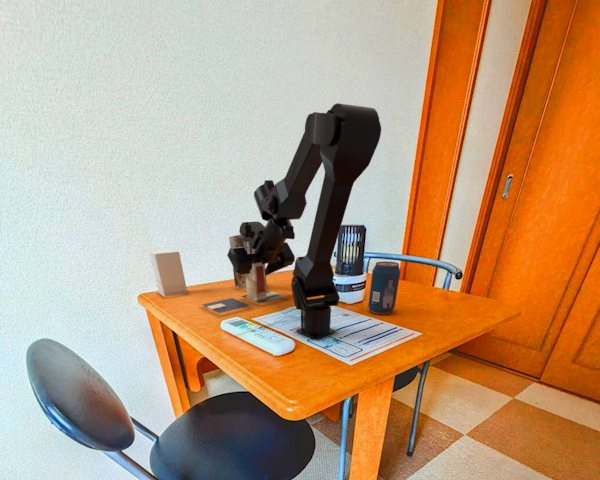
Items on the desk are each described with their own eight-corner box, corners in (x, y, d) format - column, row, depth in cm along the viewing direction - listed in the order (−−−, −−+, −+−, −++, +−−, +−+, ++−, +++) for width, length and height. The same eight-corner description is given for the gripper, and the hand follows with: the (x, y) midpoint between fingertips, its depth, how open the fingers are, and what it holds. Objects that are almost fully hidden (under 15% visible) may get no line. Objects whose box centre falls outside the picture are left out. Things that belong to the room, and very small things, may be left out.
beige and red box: (266, 298, 92) (264, 257, 86) (257, 300, 90) (253, 259, 84) (256, 294, 95) (253, 255, 89) (247, 296, 93) (243, 256, 87)
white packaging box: (188, 294, 100) (179, 251, 93) (164, 298, 96) (153, 253, 89) (181, 290, 105) (172, 248, 98) (158, 293, 101) (147, 250, 94)
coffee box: (267, 289, 105) (264, 235, 96) (255, 293, 101) (250, 237, 92) (247, 285, 109) (242, 233, 100) (234, 289, 105) (228, 235, 96)
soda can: (377, 305, 89) (383, 260, 82) (398, 310, 84) (406, 263, 78) (362, 310, 85) (367, 263, 78) (384, 316, 80) (392, 267, 74)
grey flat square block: (287, 300, 94) (287, 295, 93) (260, 306, 89) (259, 302, 88) (267, 293, 100) (267, 289, 100) (241, 299, 95) (240, 295, 94)
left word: (251, 308, 87) (250, 304, 86) (219, 316, 82) (218, 311, 81) (232, 301, 93) (232, 296, 93) (201, 308, 88) (201, 303, 87)
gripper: (287, 208, 83) (265, 249, 96) (225, 210, 73) (210, 256, 86) (307, 244, 82) (282, 280, 95) (247, 251, 72) (229, 291, 85)
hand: (252, 276), depth 90 cm, fingers open, 9 cm apart
